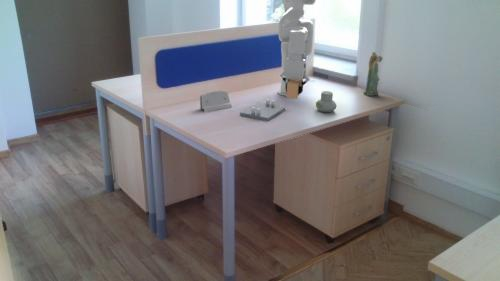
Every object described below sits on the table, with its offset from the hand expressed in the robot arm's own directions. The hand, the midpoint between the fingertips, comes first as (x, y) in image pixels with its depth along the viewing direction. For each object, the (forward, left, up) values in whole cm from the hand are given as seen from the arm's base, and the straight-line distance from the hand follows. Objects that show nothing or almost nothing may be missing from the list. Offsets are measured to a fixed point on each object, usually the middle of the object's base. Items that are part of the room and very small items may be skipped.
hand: (293, 91), depth 237 cm
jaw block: (0, 0, -1) cm, 1 cm away
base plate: (+1, -16, -13) cm, 21 cm away
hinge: (+8, -42, -14) cm, 44 cm away
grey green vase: (-19, +10, -14) cm, 26 cm away
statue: (-62, +22, -14) cm, 68 cm away
